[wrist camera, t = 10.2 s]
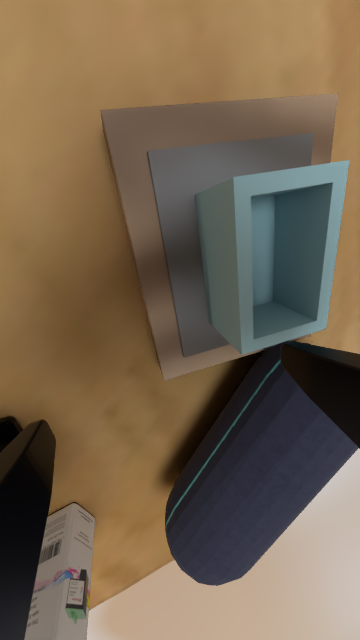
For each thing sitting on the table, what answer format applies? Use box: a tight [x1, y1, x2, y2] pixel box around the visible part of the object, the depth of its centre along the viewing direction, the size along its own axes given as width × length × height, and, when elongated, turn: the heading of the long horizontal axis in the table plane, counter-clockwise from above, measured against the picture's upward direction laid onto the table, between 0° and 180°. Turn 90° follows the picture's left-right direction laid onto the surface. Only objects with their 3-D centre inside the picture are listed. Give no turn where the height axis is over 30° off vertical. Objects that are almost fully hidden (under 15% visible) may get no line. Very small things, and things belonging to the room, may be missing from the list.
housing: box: [195, 160, 349, 355], centre depth 14 cm, size 6×10×5 cm, turn 9°
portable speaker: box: [165, 341, 358, 586], centre depth 22 cm, size 25×10×10 cm, turn 150°
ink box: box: [24, 503, 95, 640], centre depth 20 cm, size 8×5×12 cm, turn 111°
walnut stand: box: [101, 94, 338, 381], centre depth 17 cm, size 18×15×3 cm
